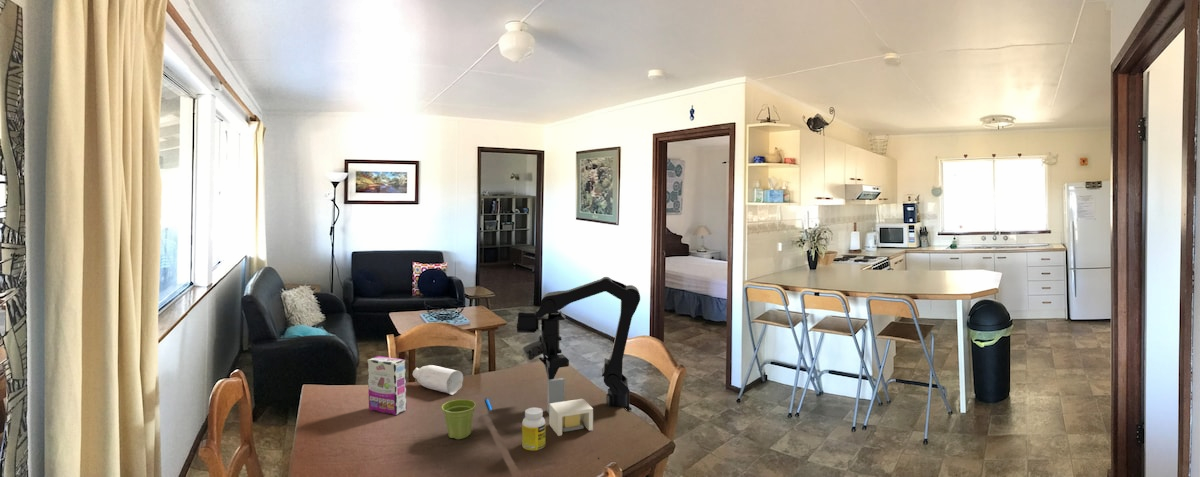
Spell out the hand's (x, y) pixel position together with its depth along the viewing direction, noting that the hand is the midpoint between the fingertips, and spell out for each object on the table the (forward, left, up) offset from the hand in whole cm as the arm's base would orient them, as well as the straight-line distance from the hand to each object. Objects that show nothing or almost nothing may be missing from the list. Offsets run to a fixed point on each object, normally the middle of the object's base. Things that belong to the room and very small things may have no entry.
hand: (550, 381), depth 181 cm
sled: (0, +13, -8) cm, 16 cm away
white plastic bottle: (+32, -29, -9) cm, 44 cm away
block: (0, +18, -7) cm, 20 cm away
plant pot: (+30, +9, -9) cm, 33 cm away
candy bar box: (+48, -17, -9) cm, 52 cm away
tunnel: (0, +16, -9) cm, 18 cm away
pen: (+18, -6, -9) cm, 21 cm away
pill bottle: (+13, +26, -9) cm, 31 cm away
